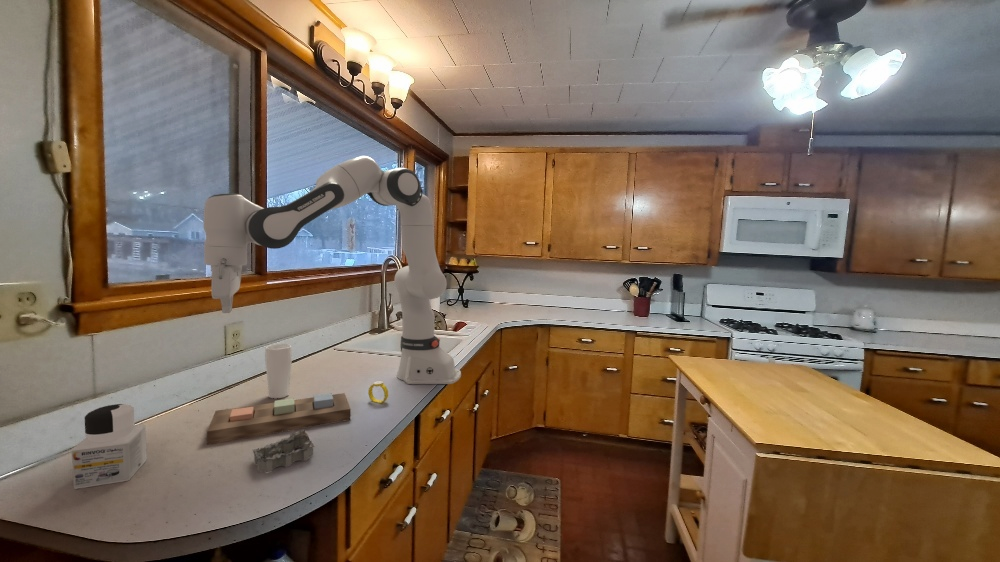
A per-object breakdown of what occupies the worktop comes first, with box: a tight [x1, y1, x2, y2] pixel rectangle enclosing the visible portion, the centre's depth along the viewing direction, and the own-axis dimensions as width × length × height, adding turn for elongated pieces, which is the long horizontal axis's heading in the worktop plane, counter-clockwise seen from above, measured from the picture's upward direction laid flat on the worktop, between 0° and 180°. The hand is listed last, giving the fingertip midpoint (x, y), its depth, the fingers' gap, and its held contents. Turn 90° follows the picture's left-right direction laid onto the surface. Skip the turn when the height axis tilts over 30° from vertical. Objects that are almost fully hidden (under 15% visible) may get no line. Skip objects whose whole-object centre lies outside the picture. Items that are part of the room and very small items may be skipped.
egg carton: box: [252, 429, 315, 474], centre depth 80 cm, size 11×8×4 cm
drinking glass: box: [264, 343, 293, 399], centre depth 113 cm, size 7×7×15 cm
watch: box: [367, 380, 389, 404], centre depth 112 cm, size 6×3×6 cm, turn 71°
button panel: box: [206, 392, 352, 445], centre depth 98 cm, size 30×12×3 cm, turn 119°
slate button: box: [313, 392, 333, 409], centre depth 102 cm, size 4×4×3 cm
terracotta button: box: [230, 406, 254, 422], centre depth 93 cm, size 4×4×3 cm
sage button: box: [274, 398, 295, 415], centre depth 97 cm, size 4×4×3 cm
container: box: [71, 403, 148, 490], centre depth 73 cm, size 8×8×13 cm
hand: (227, 312), depth 98 cm, fingers closed
